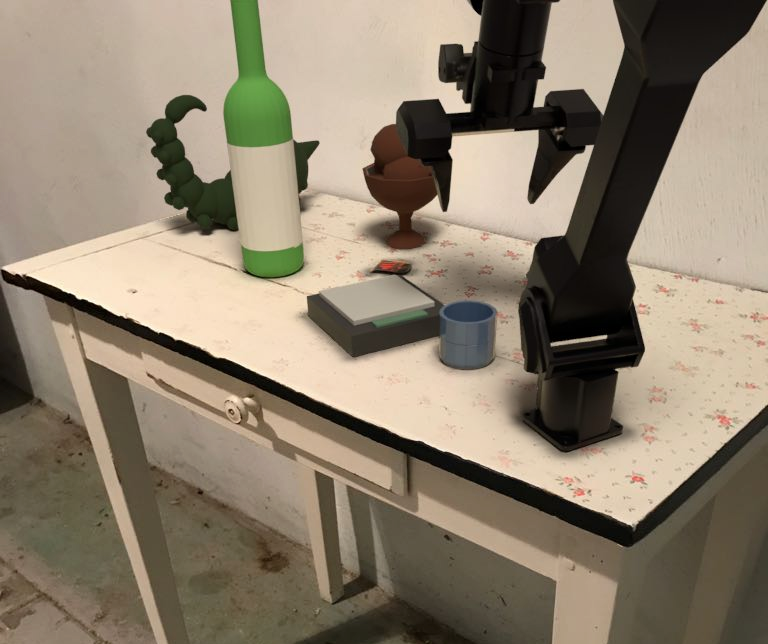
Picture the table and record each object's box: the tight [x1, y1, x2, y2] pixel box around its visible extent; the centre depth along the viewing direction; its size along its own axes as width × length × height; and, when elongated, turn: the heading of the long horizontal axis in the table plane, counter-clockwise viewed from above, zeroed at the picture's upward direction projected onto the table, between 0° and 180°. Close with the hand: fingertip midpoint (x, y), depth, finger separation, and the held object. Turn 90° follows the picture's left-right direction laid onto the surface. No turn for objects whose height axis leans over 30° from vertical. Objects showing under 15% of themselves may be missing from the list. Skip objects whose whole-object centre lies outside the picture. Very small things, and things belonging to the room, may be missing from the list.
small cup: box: [438, 299, 498, 371], centre depth 82 cm, size 6×6×5 cm
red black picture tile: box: [369, 258, 412, 274], centre depth 104 cm, size 5×5×1 cm
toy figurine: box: [145, 94, 320, 231], centre depth 116 cm, size 9×19×25 cm
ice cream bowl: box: [362, 123, 438, 250], centre depth 107 cm, size 11×11×15 cm
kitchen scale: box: [306, 274, 446, 358], centre depth 90 cm, size 12×12×3 cm
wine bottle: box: [222, 0, 305, 278], centre depth 96 cm, size 8×8×30 cm
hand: (487, 205), depth 83 cm, fingers open, 9 cm apart
